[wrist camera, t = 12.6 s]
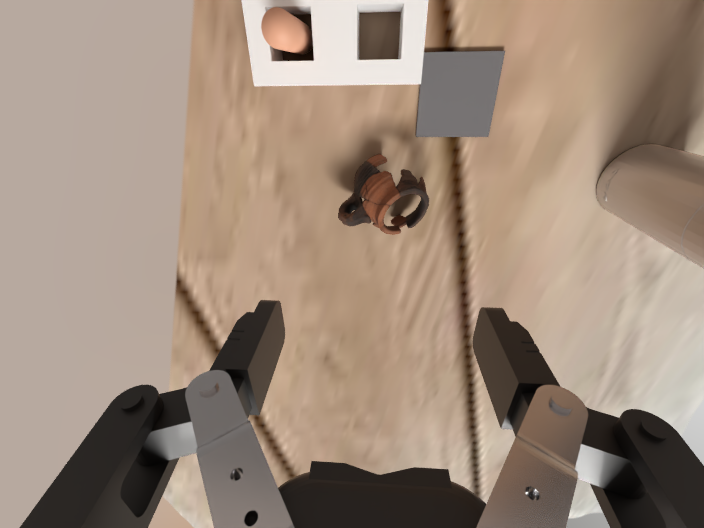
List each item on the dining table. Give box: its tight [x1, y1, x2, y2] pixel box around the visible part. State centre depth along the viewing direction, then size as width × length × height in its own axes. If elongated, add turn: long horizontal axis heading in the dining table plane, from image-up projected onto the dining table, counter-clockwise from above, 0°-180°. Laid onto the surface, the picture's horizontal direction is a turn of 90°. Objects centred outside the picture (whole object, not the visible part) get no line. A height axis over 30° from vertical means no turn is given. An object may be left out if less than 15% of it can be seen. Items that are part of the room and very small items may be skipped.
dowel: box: [261, 7, 313, 54], centre depth 32 cm, size 3×3×10 cm
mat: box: [416, 51, 505, 137], centre depth 38 cm, size 9×9×1 cm
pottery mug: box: [338, 154, 429, 235], centre depth 43 cm, size 12×10×8 cm
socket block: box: [242, 0, 428, 86], centre depth 34 cm, size 18×9×5 cm, turn 91°
